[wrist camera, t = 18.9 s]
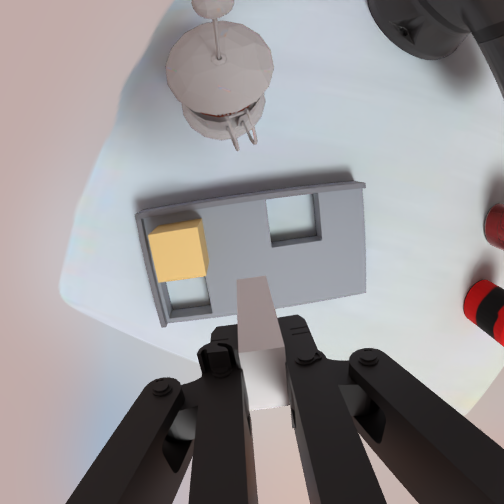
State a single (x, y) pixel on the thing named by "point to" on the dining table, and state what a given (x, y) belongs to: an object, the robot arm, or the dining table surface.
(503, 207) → the soda can
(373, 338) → the dining table surface
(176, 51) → the french press
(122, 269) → the dining table surface
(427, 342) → the dining table surface
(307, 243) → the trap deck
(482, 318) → the soda can
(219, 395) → the robot arm
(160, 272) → the ochre block
